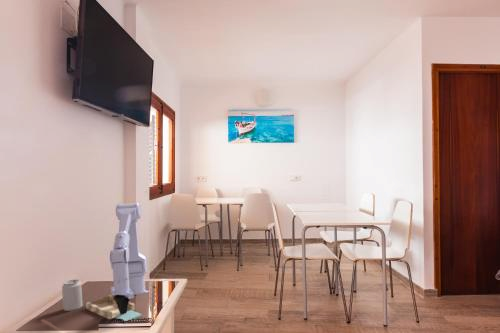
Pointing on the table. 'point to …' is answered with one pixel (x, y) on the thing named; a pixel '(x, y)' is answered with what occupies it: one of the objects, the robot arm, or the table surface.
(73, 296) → the can
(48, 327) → the table surface
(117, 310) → the tray
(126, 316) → the pale teal square slab
